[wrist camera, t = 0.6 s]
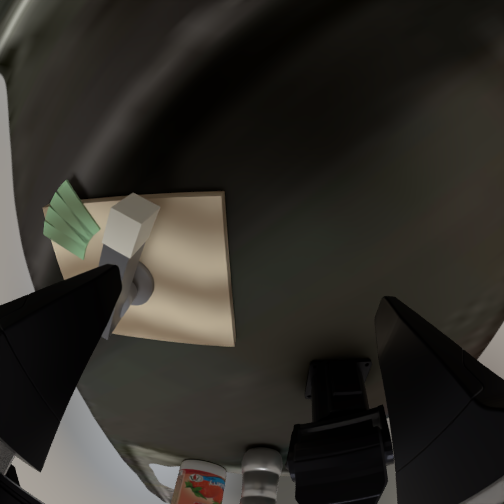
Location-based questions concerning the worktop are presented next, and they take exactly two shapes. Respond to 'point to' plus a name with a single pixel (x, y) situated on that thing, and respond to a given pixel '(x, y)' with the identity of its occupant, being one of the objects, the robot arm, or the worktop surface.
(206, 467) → the fruit juice
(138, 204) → the peg
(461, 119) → the worktop surface
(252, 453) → the plastic bottle
